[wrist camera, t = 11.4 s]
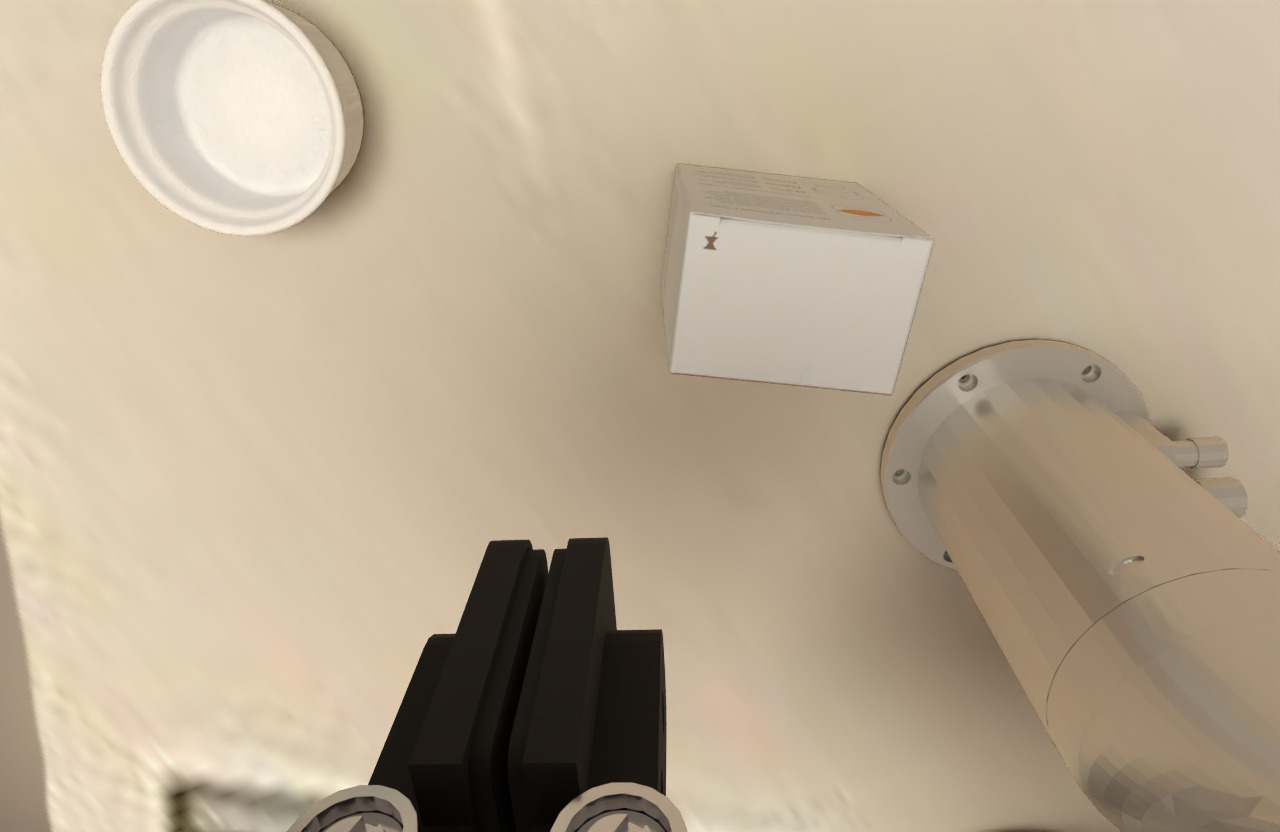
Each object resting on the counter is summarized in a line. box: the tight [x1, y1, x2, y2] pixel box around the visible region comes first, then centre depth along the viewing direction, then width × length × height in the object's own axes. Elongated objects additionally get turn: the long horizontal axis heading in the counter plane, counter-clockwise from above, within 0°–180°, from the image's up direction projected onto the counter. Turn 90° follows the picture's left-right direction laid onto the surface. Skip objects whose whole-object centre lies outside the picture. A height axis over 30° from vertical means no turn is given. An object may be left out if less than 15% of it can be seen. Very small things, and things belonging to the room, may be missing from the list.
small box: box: [661, 164, 934, 396], centre depth 31 cm, size 8×6×10 cm
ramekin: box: [101, 0, 364, 236], centre depth 32 cm, size 9×9×4 cm
